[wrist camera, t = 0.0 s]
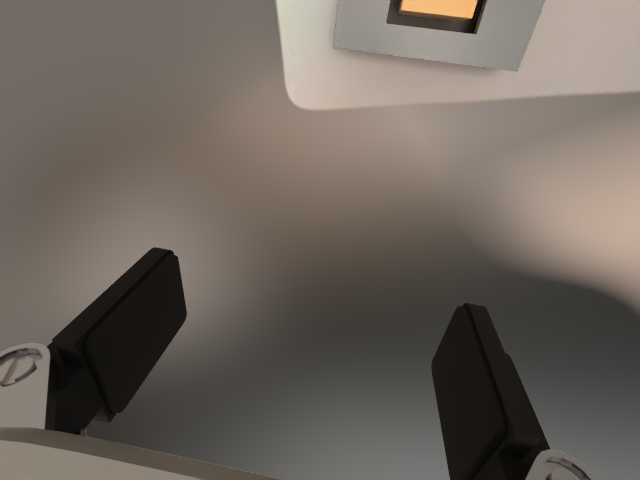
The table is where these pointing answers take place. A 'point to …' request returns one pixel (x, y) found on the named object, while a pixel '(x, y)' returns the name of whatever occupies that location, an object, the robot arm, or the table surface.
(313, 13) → the table surface
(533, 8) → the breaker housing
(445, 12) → the button
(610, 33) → the table surface
